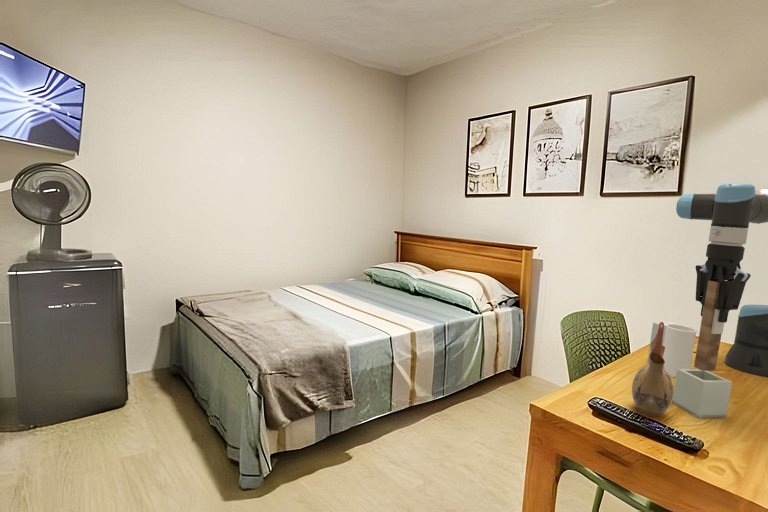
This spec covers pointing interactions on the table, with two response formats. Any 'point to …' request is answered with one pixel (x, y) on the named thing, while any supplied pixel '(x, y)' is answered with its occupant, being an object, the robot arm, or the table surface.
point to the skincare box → (654, 333)
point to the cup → (678, 347)
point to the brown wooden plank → (708, 331)
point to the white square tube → (701, 393)
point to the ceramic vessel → (653, 381)
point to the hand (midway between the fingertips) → (711, 331)
